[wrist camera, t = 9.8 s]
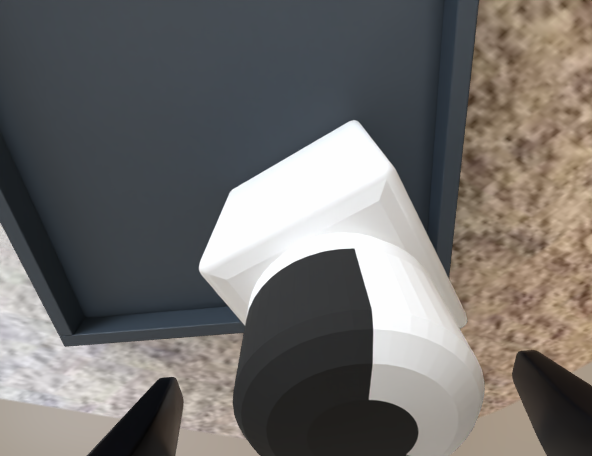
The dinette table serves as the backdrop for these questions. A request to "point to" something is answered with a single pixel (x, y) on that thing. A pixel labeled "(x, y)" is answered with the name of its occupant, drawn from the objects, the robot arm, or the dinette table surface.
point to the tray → (203, 135)
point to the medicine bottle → (341, 310)
